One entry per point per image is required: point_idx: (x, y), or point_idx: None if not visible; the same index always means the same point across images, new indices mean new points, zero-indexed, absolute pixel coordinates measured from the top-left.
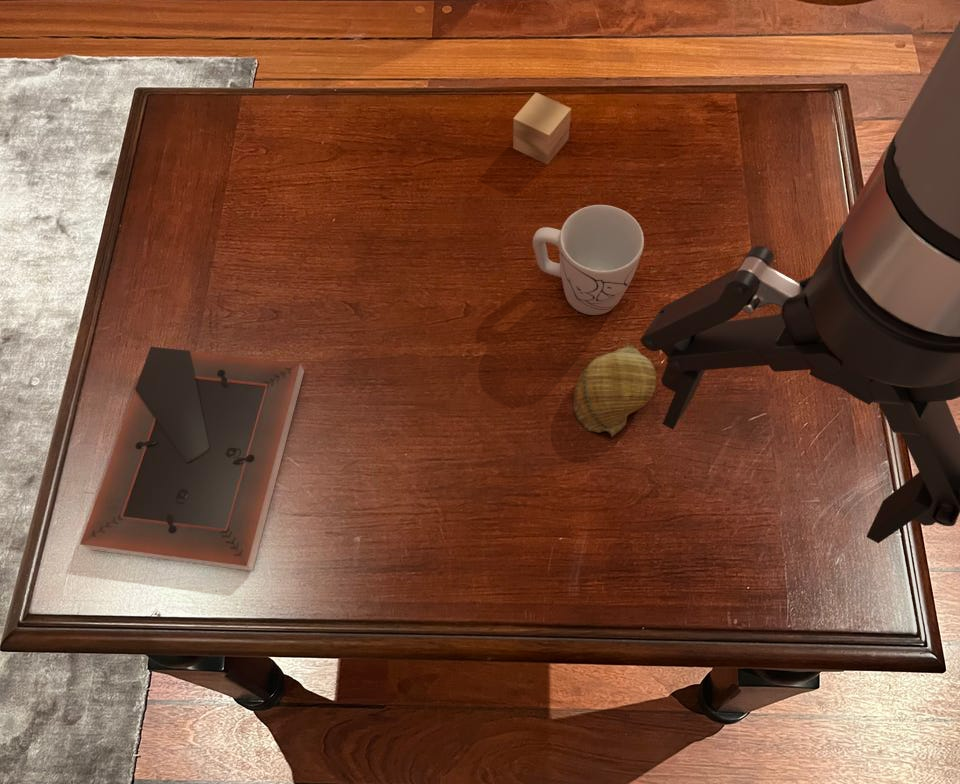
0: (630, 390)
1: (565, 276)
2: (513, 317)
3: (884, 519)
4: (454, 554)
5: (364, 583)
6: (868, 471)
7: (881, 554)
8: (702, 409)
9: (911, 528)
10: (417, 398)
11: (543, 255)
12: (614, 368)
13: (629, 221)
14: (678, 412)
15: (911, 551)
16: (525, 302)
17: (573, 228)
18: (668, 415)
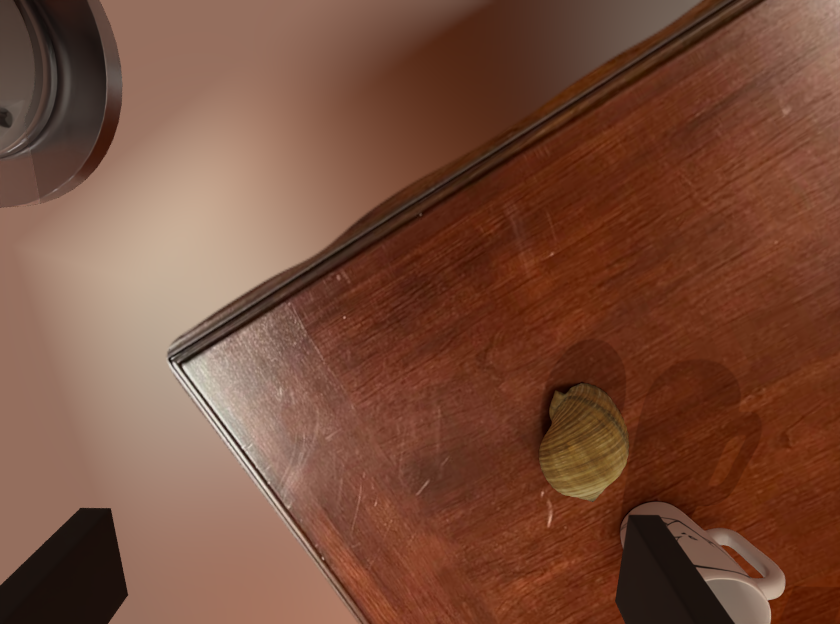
0: (572, 454)
1: (716, 545)
2: (726, 459)
3: (44, 599)
4: (660, 165)
5: (751, 65)
6: (298, 489)
7: (247, 419)
8: (478, 466)
9: (235, 458)
10: (794, 312)
11: (747, 552)
12: (604, 469)
13: None
14: (685, 599)
15: (224, 437)
16: (721, 482)
17: (744, 610)
18: (684, 560)
